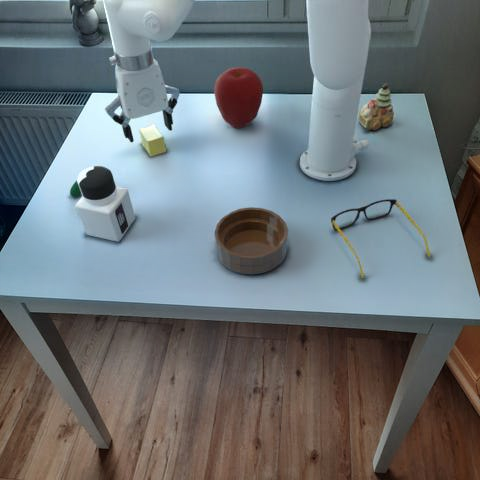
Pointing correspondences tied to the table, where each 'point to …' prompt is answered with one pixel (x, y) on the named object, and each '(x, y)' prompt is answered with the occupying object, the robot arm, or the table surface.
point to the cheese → (152, 140)
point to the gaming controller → (75, 190)
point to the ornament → (377, 111)
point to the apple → (238, 96)
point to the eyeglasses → (392, 202)
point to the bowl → (251, 240)
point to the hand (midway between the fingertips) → (149, 133)
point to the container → (103, 204)
